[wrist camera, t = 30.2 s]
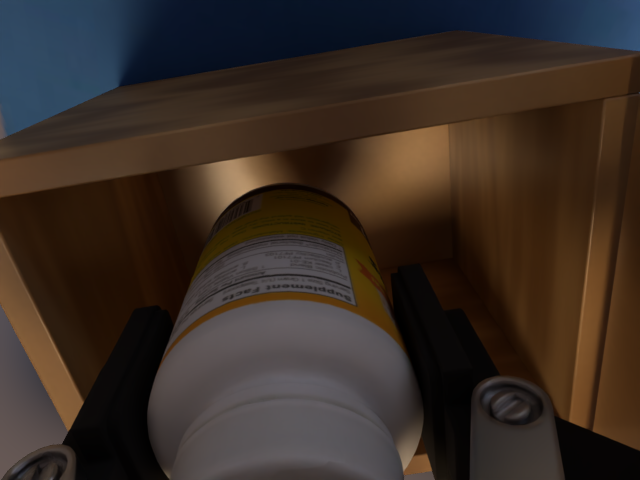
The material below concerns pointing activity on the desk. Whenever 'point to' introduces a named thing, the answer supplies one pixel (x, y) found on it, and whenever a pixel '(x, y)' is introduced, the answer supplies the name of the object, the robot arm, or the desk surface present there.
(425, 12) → the desk surface
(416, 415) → the supplement bottle
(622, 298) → the lid
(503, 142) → the chest
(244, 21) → the desk surface
